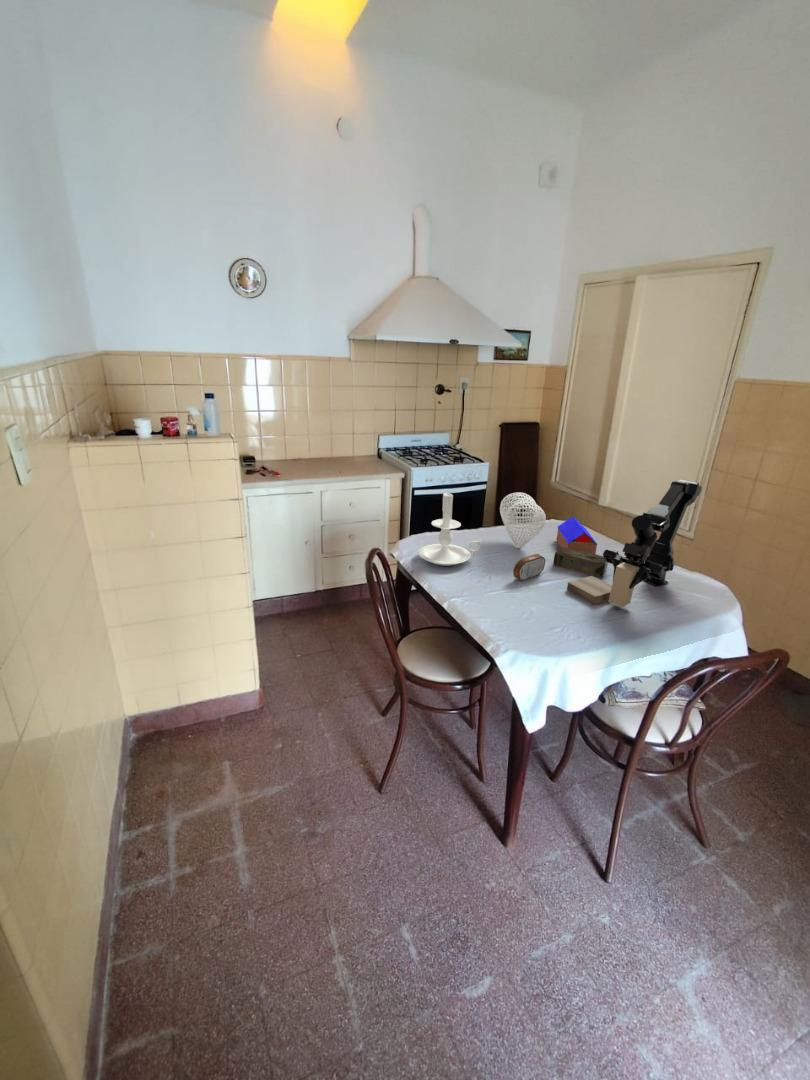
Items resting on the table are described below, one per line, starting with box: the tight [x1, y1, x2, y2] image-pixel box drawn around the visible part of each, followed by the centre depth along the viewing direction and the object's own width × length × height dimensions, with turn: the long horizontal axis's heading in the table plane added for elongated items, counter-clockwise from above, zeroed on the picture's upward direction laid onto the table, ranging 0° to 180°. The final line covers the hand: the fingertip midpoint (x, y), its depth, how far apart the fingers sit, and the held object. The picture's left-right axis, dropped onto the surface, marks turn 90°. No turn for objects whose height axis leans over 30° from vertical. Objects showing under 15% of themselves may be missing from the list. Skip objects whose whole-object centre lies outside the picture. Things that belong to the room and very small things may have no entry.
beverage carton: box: [552, 546, 609, 578], centre depth 190 cm, size 8×19×7 cm, turn 60°
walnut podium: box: [566, 575, 612, 606], centre depth 171 cm, size 12×12×3 cm
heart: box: [499, 492, 547, 549], centre depth 205 cm, size 28×16×22 cm, turn 0°
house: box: [556, 516, 599, 555], centre depth 207 cm, size 12×20×12 cm, turn 176°
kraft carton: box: [607, 562, 639, 608], centre depth 159 cm, size 5×5×13 cm
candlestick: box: [417, 492, 483, 567], centre depth 190 cm, size 21×25×28 cm
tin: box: [512, 553, 546, 582], centre depth 181 cm, size 15×3×8 cm, turn 126°
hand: (621, 585), depth 158 cm, fingers closed on kraft carton, 5 cm apart
